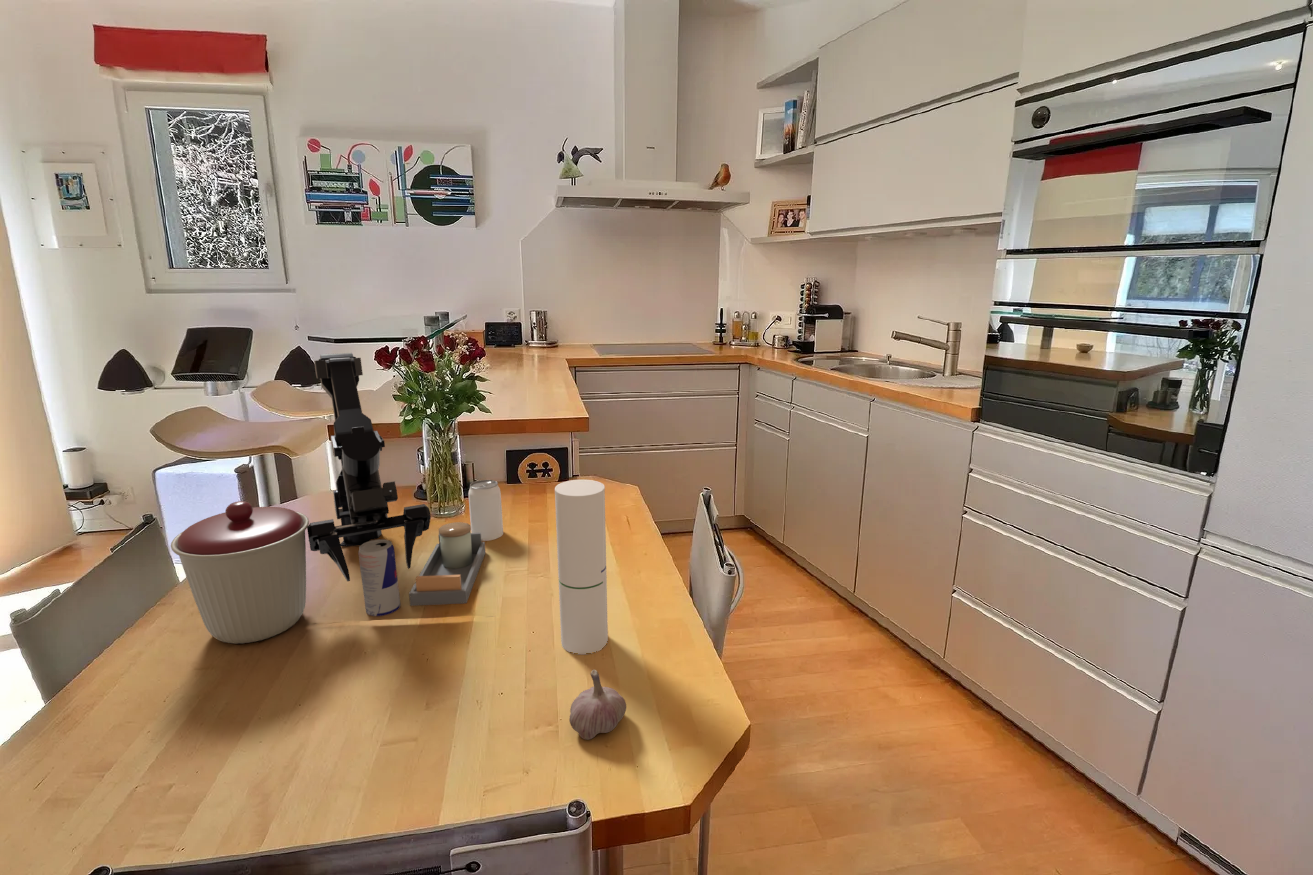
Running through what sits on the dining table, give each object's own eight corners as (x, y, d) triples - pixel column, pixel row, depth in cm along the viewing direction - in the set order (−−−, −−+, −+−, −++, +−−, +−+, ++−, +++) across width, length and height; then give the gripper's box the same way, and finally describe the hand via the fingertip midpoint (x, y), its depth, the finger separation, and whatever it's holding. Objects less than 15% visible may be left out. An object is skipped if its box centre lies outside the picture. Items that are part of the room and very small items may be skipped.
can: (507, 532, 142) (504, 479, 139) (497, 544, 136) (493, 489, 132) (478, 531, 142) (474, 478, 139) (467, 543, 136) (462, 488, 133)
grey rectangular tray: (410, 609, 110) (407, 582, 109) (438, 557, 130) (435, 534, 128) (466, 607, 111) (464, 580, 110) (485, 555, 130) (484, 532, 129)
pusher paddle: (417, 601, 111) (415, 578, 110) (419, 598, 112) (416, 576, 111) (461, 599, 112) (459, 576, 111) (462, 596, 113) (460, 574, 111)
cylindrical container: (615, 633, 103) (612, 482, 97) (596, 658, 97) (592, 498, 90) (573, 625, 106) (568, 477, 99) (552, 649, 99) (545, 492, 93)
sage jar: (438, 569, 123) (435, 534, 121) (445, 556, 128) (442, 522, 127) (470, 568, 123) (467, 533, 122) (475, 554, 129) (473, 521, 127)
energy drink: (407, 607, 111) (400, 542, 108) (383, 623, 106) (374, 554, 103) (384, 601, 113) (376, 536, 110) (359, 615, 108) (350, 548, 105)
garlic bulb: (577, 752, 79) (575, 694, 76) (561, 714, 85) (558, 660, 83) (636, 734, 82) (636, 678, 79) (616, 699, 88) (615, 647, 86)
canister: (162, 644, 100) (134, 515, 95) (267, 590, 117) (248, 477, 111) (249, 669, 94) (224, 532, 89) (347, 608, 111) (330, 490, 105)
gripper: (299, 476, 103) (312, 568, 97) (423, 459, 112) (442, 542, 105) (304, 507, 112) (316, 594, 105) (419, 489, 120) (437, 568, 114)
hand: (379, 573), depth 107 cm, fingers open, 9 cm apart
